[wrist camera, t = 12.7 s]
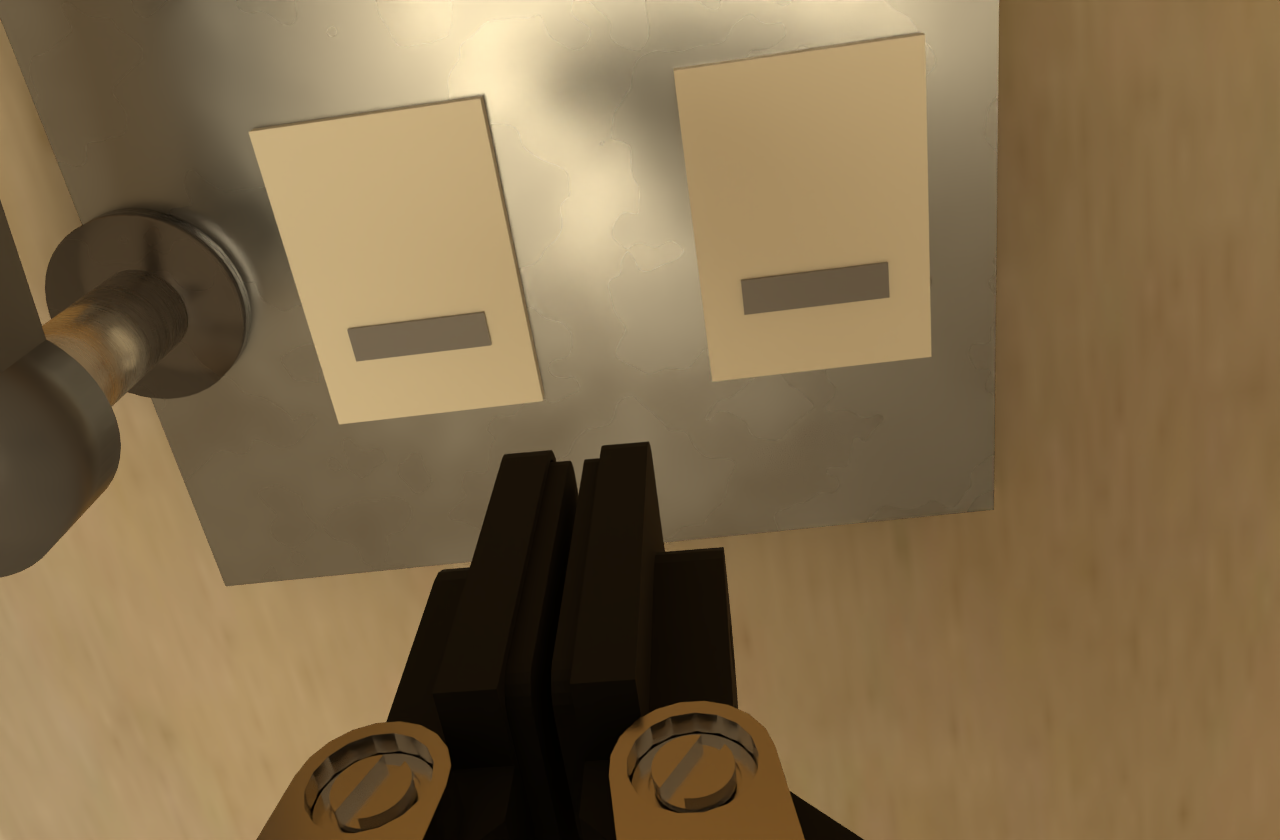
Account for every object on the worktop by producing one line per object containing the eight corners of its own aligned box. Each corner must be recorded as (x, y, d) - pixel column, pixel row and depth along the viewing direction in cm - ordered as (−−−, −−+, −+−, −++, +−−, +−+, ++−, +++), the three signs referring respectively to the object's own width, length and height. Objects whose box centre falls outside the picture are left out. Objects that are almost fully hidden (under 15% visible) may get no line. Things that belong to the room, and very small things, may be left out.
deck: (986, -238, 20) (1115, -282, 14) (983, 488, 27) (1066, 659, 21) (-59, -63, 22) (-330, -38, 16) (198, 568, 29) (76, 744, 23)
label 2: (922, 32, 21) (925, 35, 21) (928, 351, 24) (932, 358, 24) (673, 68, 22) (673, 71, 21) (711, 376, 25) (712, 383, 24)
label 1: (482, 95, 22) (479, 99, 22) (544, 395, 25) (542, 403, 25) (253, 128, 22) (246, 133, 22) (342, 418, 26) (337, 426, 25)
